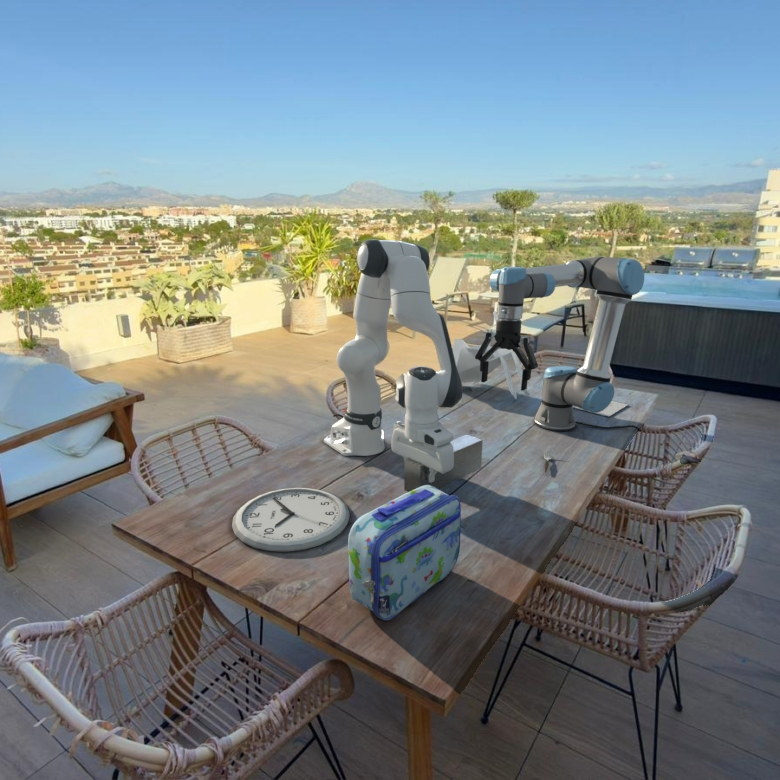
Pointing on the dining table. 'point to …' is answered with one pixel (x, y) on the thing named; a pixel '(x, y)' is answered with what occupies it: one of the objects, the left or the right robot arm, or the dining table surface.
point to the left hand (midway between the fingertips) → (420, 476)
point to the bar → (464, 464)
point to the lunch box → (403, 549)
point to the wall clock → (290, 519)
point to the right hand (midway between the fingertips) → (503, 385)
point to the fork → (547, 459)
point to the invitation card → (609, 408)
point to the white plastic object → (471, 366)
